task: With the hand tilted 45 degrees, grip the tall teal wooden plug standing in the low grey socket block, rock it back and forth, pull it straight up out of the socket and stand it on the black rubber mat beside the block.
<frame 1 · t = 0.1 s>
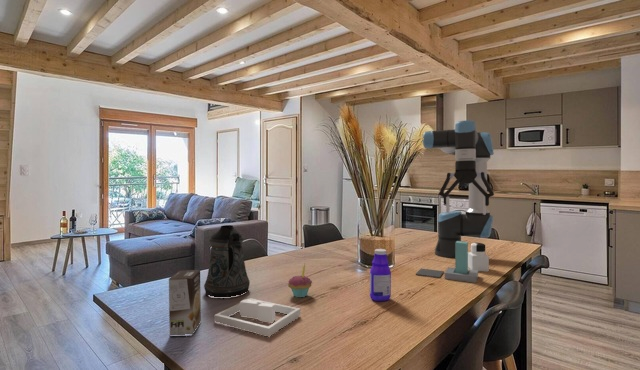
hand: (465, 213, 141), 28 cm above the table, tool pointing down, fingers open, 13 cm apart
mat: (429, 273, 155), on the table
plug: (461, 260, 149), in the socket block
cupcake: (299, 296, 128), on the table
medicine bottle: (477, 269, 161), on the table
holder frame: (258, 319, 107), on the table
socket block: (461, 277, 149), on the table
coffee box: (186, 330, 101), on the table
bottle: (380, 299, 124), on the table
beer stein: (230, 293, 132), on the table
napkin holder: (258, 321, 107), on the table, touching holder frame
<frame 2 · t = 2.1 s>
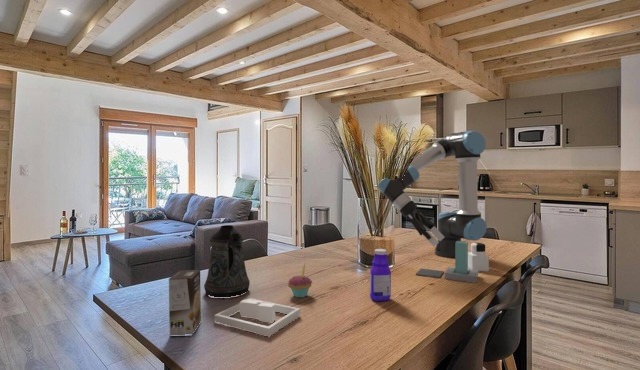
hand: (439, 241, 152), 15 cm above the table, tool tilted 45°, fingers open, 13 cm apart
nothing on the table moved.
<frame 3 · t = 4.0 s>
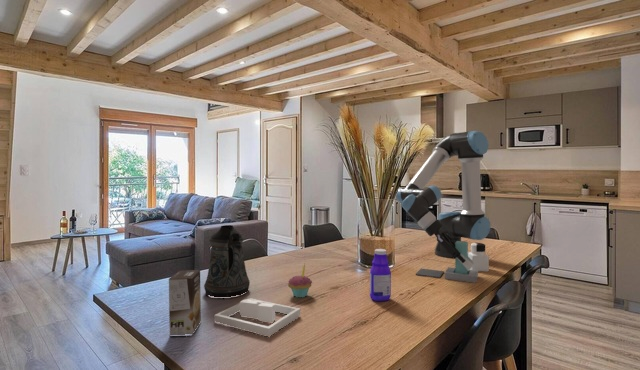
hand: (471, 266, 147), 5 cm above the table, tool tilted 45°, fingers closed on plug, 4 cm apart
plug: (461, 259, 149), in the socket block, touching gripper
everything else where it was.
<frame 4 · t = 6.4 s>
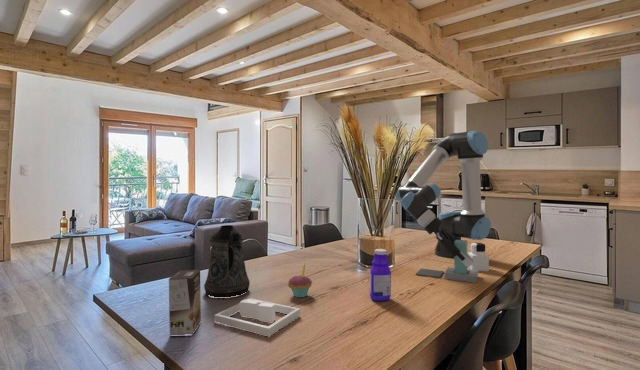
hand: (471, 264, 146), 6 cm above the table, tool tilted 45°, fingers closed on plug, 5 cm apart
plug: (460, 258, 148), in the socket block, point 8 cm above the table, touching gripper
everything else where it was.
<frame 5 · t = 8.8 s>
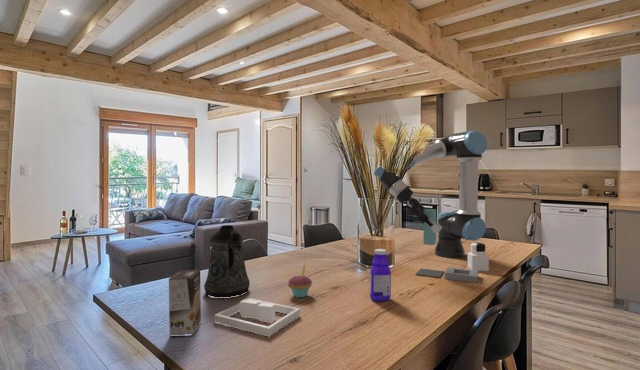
hand: (439, 230, 153), 19 cm above the table, tool tilted 45°, fingers closed on plug, 5 cm apart
plug: (429, 226, 155), point 21 cm above the table, touching gripper
everything else where it was.
when the fingers open (7 cm above the table, at t = 11.3 s): plug stays where it is, resting on mat.
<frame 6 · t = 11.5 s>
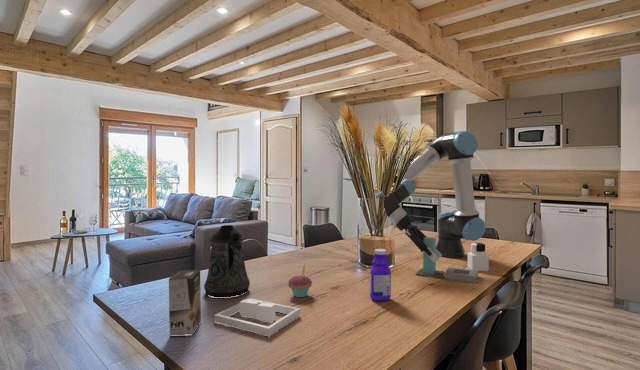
hand: (438, 258, 153), 7 cm above the table, tool tilted 45°, fingers open, 6 cm apart
plug: (429, 255, 155), on the mat
everything else where it was.
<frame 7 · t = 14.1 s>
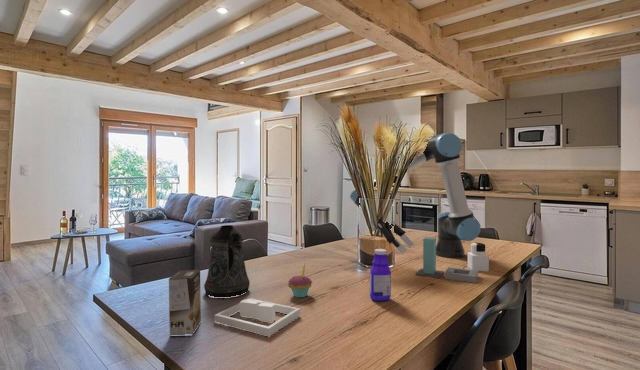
hand: (408, 248, 160), 10 cm above the table, tool tilted 45°, fingers open, 13 cm apart
nothing on the table moved.
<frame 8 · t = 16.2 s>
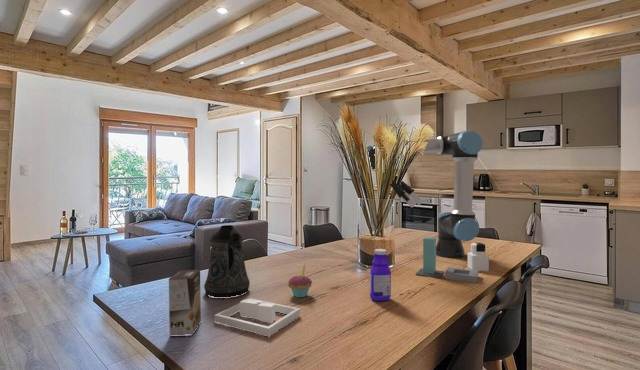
hand: (417, 204, 163), 30 cm above the table, tool tilted 45°, fingers open, 13 cm apart
nothing on the table moved.
at the end: plug inside the target area on the mat (0.4 cm from its centre), point 8.0 cm above the mat's base; plug tilted 0°; the gripper is holding nothing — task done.
